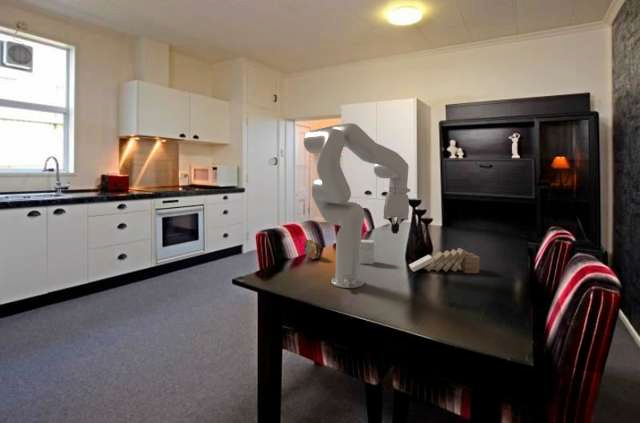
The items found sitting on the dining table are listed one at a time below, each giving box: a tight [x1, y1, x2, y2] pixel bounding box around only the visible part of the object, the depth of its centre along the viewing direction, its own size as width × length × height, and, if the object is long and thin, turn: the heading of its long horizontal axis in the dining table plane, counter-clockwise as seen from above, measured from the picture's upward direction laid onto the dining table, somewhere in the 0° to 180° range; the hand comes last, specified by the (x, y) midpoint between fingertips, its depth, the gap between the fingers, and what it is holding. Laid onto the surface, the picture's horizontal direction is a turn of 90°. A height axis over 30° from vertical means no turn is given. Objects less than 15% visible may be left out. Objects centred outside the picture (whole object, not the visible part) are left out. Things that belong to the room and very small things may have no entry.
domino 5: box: [449, 247, 468, 273], centre depth 161 cm, size 2×5×10 cm, turn 2°
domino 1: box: [408, 254, 434, 273], centre depth 160 cm, size 2×5×10 cm
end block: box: [458, 252, 481, 274], centre depth 161 cm, size 8×6×7 cm
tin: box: [303, 239, 322, 260], centre depth 181 cm, size 15×3×8 cm, turn 25°
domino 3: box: [432, 250, 454, 273], centre depth 161 cm, size 2×5×10 cm
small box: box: [360, 239, 375, 265], centre depth 172 cm, size 8×6×10 cm
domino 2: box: [423, 250, 446, 272], centre depth 161 cm, size 2×5×10 cm
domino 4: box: [441, 248, 461, 273], centre depth 161 cm, size 2×5×10 cm
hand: (394, 233), depth 158 cm, fingers closed
